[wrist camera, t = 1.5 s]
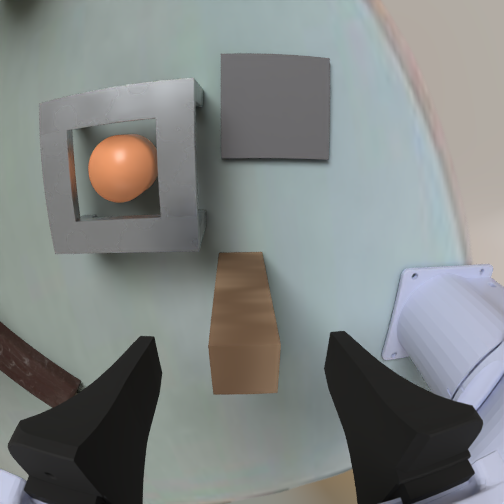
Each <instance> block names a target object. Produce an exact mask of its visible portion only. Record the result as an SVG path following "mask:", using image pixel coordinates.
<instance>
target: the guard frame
mask: <svg viewBox="0 0 504 504" xmlns="http://www.w3.org/2000/svg"><path fill="white" fill-rule="evenodd" d="M197 106H203V89H202V87H201V86H200V85H199V84H198V82H197V81H196V80H195V79H194V78H185V79H173V80H162V81H153V82H145V83H137V84H130V85H123V86H117V87H111V88H105V89H100V90H94V91H89V92H84V93H80V94H75V95H71V96H66V97H62V98H58V99H54V100H50V101H46V102H42V103H39V123H40V146H41V160H42V171H43V181H44V189H45V197H46V204H47V211H48V218H49V224H50V229H51V235H52V240H53V245H54V250H55V254H80V253H131V252H183V251H199V250H200V246H201V243H202V239H203V236H204V232H205V229H206V210H198V190H197V161H196V107H197ZM155 118H156V141H157V165H158V183H159V198H160V211H161V214H156V215H133V216H114V217H96V215H82V216H81V217H80V211H79V203H78V195H77V186H76V176H75V165H74V151H73V132H72V130H74V129H80V128H86V127H92V126H98V125H105V124H112V123H119V122H127V121H135V120H145V119H155Z"/></svg>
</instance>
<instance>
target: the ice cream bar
mask: <svg viewBox="0 0 504 504" xmlns="http://www.w3.org/2000/svg"><path fill="white" fill-rule="evenodd" d="M0 370H1V371H2V372H3V373H5V374H6V375H7V376H8V377H10V378H11V379H12V380H14V381H15V382H16V383H18V384H19V385H20V386H22V387H23V388H24V389H26V390H27V391H29V392H30V393H31V394H33V395H34V396H36V397H37V398H39V399H40V400H42V401H43V402H45V403H46V404H48V405H49V406H51V407H52V408H54V407H56V406H58V405H60V404H61V403H63V402H65V401H67V400H68V399H70V398H71V397H73V396H75V395H76V394H78V393H76V392H77V390H78V388H79V385H80V382H81V380H79V379H78V378H76V377H74V376H73V375H71V374H70V373H68V372H67V371H65V370H64V369H62V368H61V367H59V366H58V365H56V364H55V363H53V362H52V361H51V360H49V359H48V358H46V357H45V356H44V355H42V354H41V353H39V352H38V351H37V350H35V349H34V348H33V347H31V346H30V345H29V344H27V343H26V342H25V341H24V340H22V339H21V338H20V337H18V336H17V335H16V334H15V333H13V332H12V331H11V330H10V329H9V328H7V327H6V326H5V325H4V324H3V323H1V322H0Z"/></svg>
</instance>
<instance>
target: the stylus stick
mask: <svg viewBox="0 0 504 504" xmlns="http://www.w3.org/2000/svg"><path fill="white" fill-rule="evenodd" d="M208 348H209V358H210V367H211V376H212V385H213V394H262V393H277V390H278V377H279V363H280V348H281V343H280V338H279V333H278V328H277V323H276V318H275V313H274V309H273V304H272V299H271V294H270V289H269V284H268V279H267V274H266V269H265V264H264V260H263V255H262V252H232V253H219V257H218V265H217V274H216V282H215V290H214V299H213V308H212V317H211V326H210V335H209V345H208Z"/></svg>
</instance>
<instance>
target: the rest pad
mask: <svg viewBox="0 0 504 504" xmlns="http://www.w3.org/2000/svg"><path fill="white" fill-rule="evenodd" d="M329 127H330V58H321V57H310V56H298V55H282V54H221V158H297V159H325V160H329Z"/></svg>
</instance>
